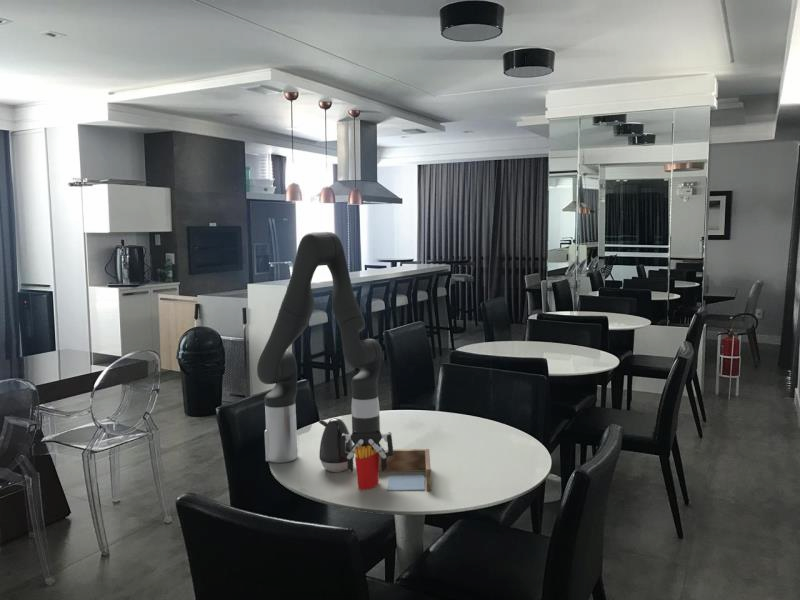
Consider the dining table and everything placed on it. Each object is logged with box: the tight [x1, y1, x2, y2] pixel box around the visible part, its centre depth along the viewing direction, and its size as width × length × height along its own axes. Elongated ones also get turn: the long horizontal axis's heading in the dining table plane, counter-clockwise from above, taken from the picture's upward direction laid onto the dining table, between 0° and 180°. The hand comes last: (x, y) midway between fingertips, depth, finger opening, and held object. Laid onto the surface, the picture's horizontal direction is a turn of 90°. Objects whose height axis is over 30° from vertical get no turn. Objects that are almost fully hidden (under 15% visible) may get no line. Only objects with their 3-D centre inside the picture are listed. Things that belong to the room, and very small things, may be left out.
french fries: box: [354, 445, 379, 491], centre depth 180 cm, size 8×4×12 cm, turn 143°
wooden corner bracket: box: [378, 448, 432, 492], centre depth 184 cm, size 20×16×6 cm
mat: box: [386, 474, 426, 492], centre depth 182 cm, size 10×10×1 cm
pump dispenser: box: [318, 417, 355, 473], centre depth 193 cm, size 10×10×15 cm
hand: (367, 470), depth 180 cm, fingers open, 8 cm apart
